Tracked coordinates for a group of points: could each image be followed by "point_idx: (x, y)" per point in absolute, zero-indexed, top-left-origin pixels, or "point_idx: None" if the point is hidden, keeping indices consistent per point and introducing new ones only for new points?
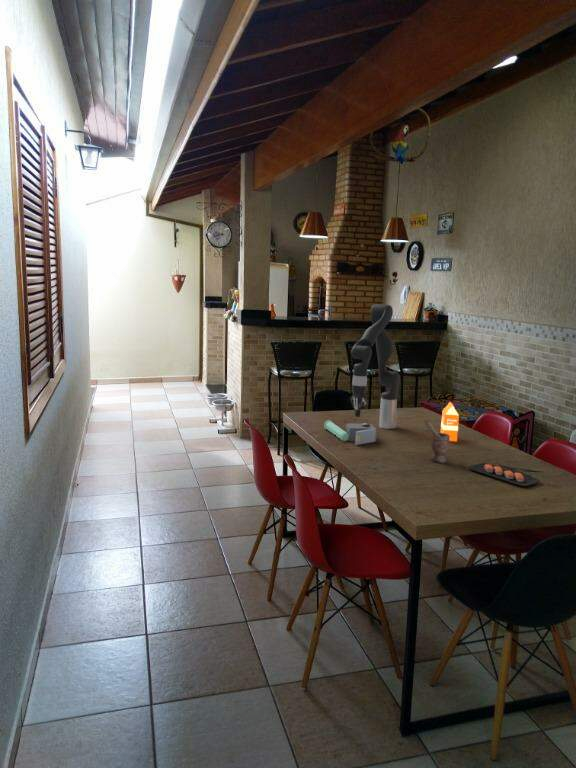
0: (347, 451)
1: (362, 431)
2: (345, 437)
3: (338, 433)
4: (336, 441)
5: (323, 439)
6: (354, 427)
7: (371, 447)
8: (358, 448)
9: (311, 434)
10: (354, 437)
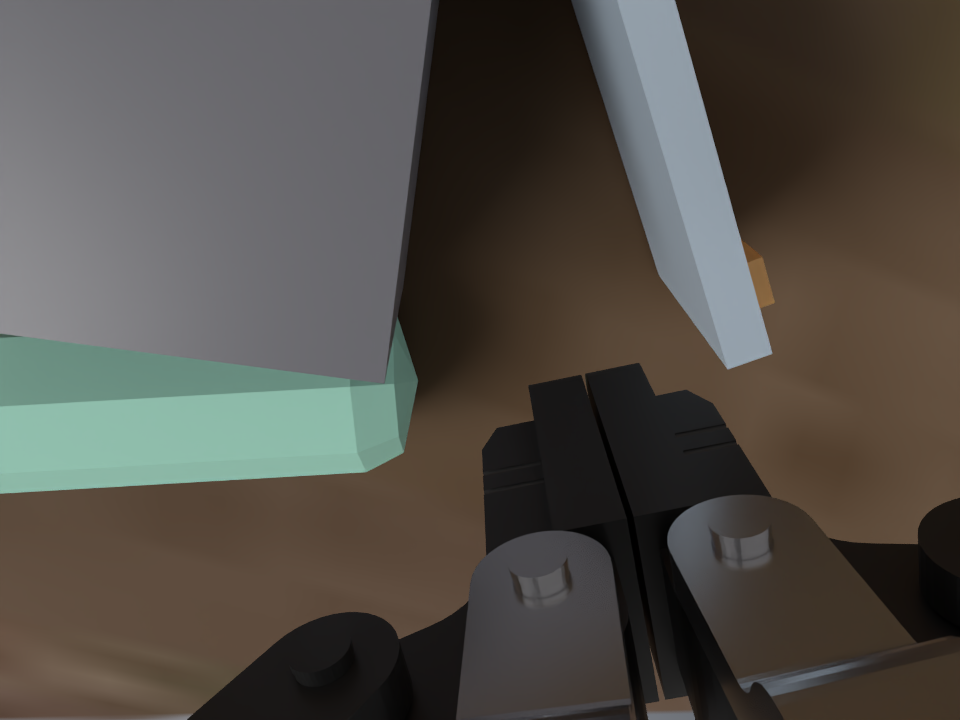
0: (938, 500)
1: (723, 190)
2: (414, 389)
3: (248, 478)
4: (404, 492)
5: (280, 634)
6: (320, 250)
7: (872, 19)
8: (854, 286)
9: (2, 714)
10: (411, 210)
